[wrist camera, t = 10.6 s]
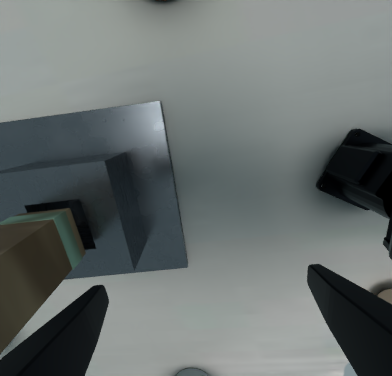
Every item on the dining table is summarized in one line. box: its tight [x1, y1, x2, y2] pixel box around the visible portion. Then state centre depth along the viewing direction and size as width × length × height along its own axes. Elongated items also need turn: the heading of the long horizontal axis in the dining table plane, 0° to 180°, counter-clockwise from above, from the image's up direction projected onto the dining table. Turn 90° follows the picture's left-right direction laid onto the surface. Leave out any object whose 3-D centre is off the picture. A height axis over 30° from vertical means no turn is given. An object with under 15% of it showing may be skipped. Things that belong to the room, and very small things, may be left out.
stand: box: [0, 101, 188, 279], centre depth 19 cm, size 18×18×6 cm
